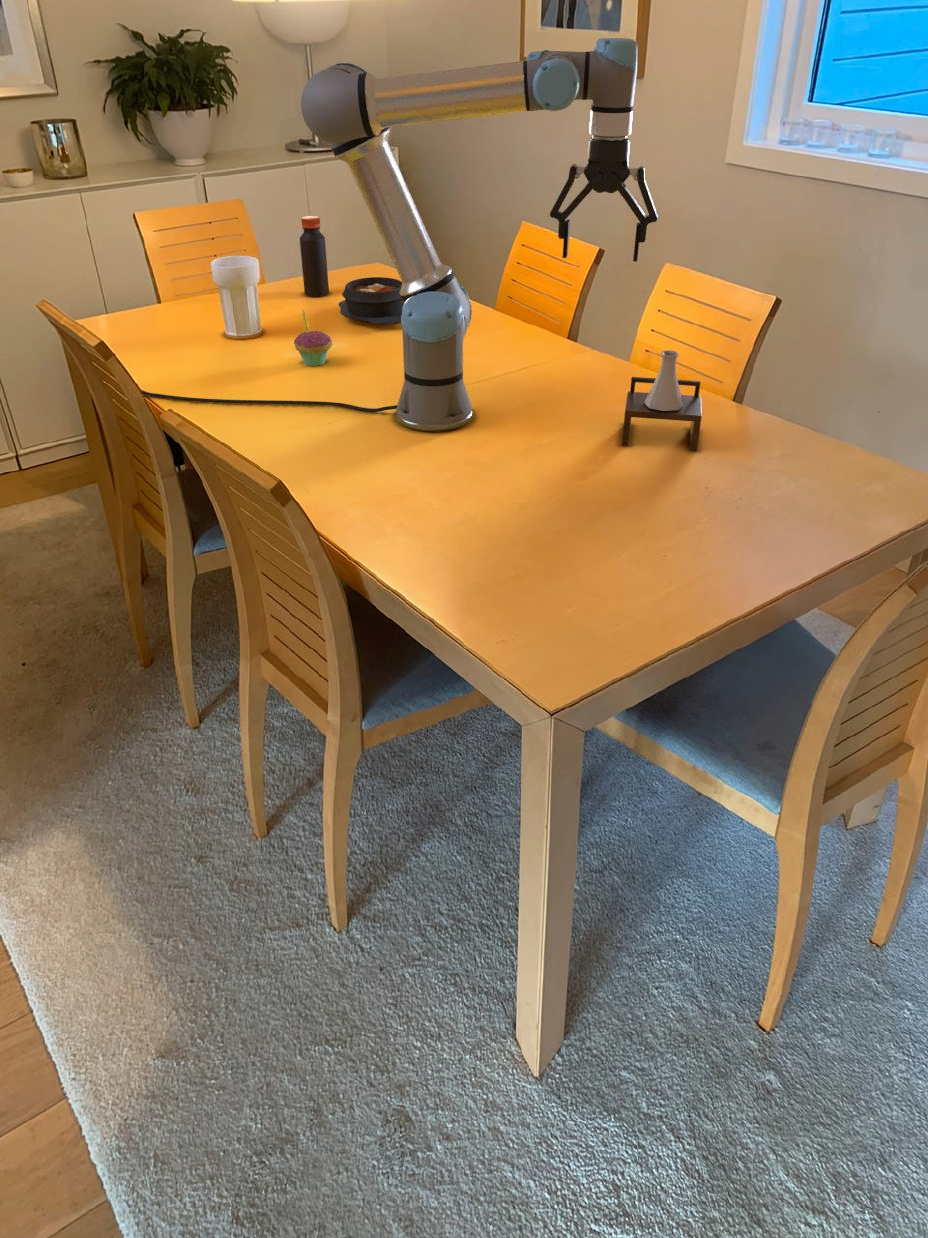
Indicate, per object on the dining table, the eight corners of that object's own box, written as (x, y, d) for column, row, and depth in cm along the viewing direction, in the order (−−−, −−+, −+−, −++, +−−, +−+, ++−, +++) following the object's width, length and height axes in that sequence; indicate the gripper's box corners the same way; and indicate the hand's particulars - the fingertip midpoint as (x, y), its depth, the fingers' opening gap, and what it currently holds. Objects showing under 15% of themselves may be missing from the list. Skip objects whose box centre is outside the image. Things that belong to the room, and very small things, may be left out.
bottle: (301, 296, 266) (294, 219, 255) (308, 289, 272) (302, 214, 261) (325, 297, 266) (319, 220, 254) (332, 290, 271) (326, 215, 260)
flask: (682, 413, 178) (689, 360, 173) (643, 410, 179) (649, 358, 174) (683, 399, 184) (690, 347, 178) (645, 396, 185) (650, 345, 180)
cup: (276, 331, 241) (268, 259, 231) (245, 343, 233) (235, 269, 224) (242, 323, 246) (233, 253, 236) (211, 335, 238) (200, 263, 229)
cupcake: (289, 365, 220) (283, 313, 214) (308, 354, 227) (303, 302, 220) (322, 370, 218) (317, 317, 211) (340, 358, 224) (336, 306, 217)
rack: (621, 445, 183) (626, 395, 178) (624, 425, 192) (629, 376, 186) (696, 451, 181) (703, 400, 176) (696, 430, 189) (703, 381, 184)
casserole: (432, 323, 247) (431, 289, 242) (369, 336, 238) (367, 301, 233) (383, 299, 264) (381, 268, 259) (322, 311, 255) (319, 278, 250)
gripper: (679, 136, 177) (665, 256, 189) (544, 131, 180) (538, 250, 192) (679, 142, 171) (664, 265, 182) (539, 137, 174) (534, 259, 186)
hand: (600, 258), depth 187 cm, fingers open, 13 cm apart
